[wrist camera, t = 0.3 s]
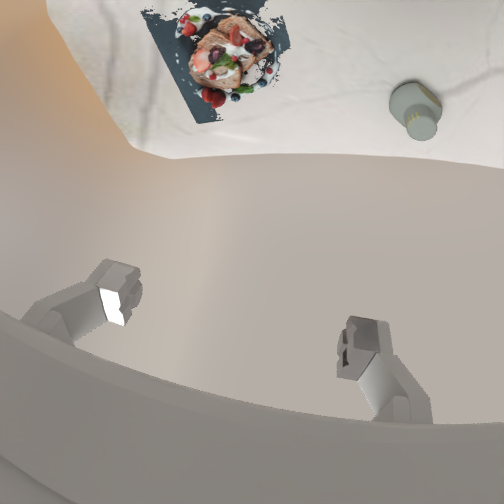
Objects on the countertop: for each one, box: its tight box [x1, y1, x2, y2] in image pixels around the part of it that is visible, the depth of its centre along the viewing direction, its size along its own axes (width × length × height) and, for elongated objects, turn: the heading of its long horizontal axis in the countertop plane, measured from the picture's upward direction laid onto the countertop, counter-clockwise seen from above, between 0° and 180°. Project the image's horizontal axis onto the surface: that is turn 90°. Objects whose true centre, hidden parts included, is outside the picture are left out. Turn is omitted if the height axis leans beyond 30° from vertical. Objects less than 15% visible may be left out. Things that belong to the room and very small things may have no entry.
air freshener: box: [389, 83, 442, 141], centre depth 50 cm, size 11×8×10 cm
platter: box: [140, 0, 290, 124], centre depth 52 cm, size 35×27×9 cm
